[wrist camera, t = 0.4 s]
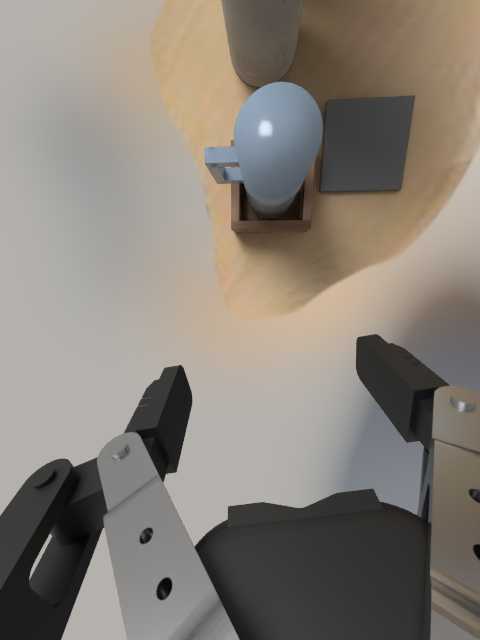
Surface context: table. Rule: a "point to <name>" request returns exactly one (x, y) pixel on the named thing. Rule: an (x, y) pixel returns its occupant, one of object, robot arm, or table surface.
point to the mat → (365, 144)
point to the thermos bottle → (262, 37)
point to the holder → (274, 226)
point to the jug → (271, 147)
